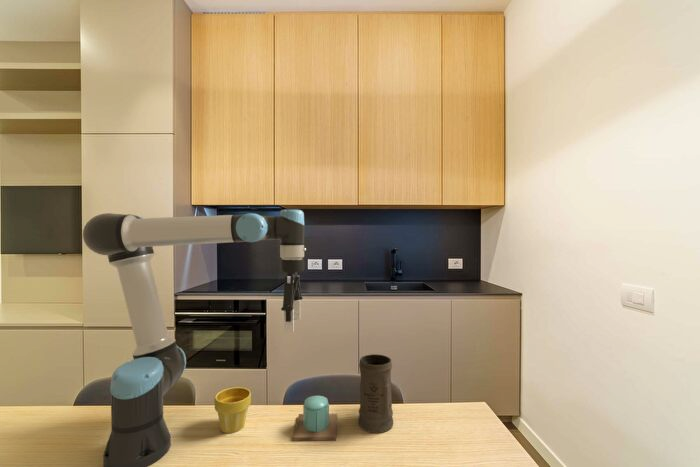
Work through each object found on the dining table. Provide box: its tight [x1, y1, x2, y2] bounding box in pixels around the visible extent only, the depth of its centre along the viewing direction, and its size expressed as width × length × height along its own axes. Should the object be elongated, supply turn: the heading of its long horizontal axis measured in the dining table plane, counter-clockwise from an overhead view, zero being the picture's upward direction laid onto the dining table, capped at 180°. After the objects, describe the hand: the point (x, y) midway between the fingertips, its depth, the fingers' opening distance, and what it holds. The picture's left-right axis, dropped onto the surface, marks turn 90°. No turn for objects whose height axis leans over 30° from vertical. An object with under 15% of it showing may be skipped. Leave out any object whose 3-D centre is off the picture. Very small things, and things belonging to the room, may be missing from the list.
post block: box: [292, 413, 338, 442], centre depth 101 cm, size 12×12×7 cm
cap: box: [302, 395, 330, 432], centre depth 101 cm, size 7×7×7 cm
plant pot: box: [214, 386, 252, 434], centre depth 102 cm, size 10×10×10 cm
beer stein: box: [357, 353, 394, 434], centre depth 106 cm, size 15×11×20 cm
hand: (292, 325), depth 108 cm, fingers open, 13 cm apart
